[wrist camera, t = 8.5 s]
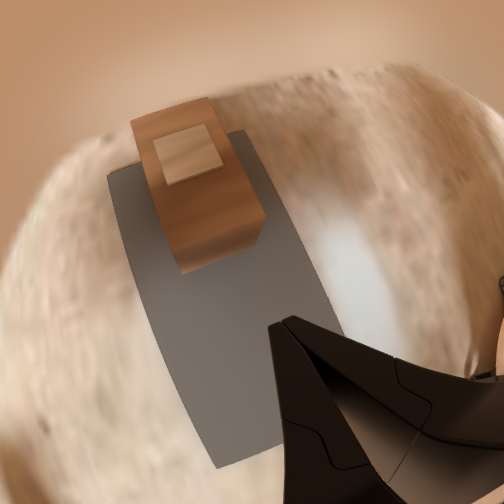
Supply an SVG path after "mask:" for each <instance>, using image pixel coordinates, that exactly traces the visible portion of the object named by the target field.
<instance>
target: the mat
mask: <svg viewBox="0 0 504 504" xmlns="http://www.w3.org/2000/svg"><path fill="white" fill-rule="evenodd" d="M226 135H227V137H228V139H229V141H230V143H231V145H232V147H233V149H234V151H235V153H236V155H237V157H238V159H239V161H240V163H241V165H242V167H243V169H244V171H245V174H246V176H247V178H248V180H249V182H250V184H251V186H252V188H253V190H254V192H255V194H256V196H257V198H258V200H259V202H260V204H261V207H262V209H263V211H264V213H265V215H266V218H265V221H264V223H263V226H262V229H261V231H260V234H259V237H258V239H257V242H256V245H255V247H253V248H250V249H248V250H245V251H242V252H240V253H237V254H235V255H232V256H229V257H227V258H224V259H222V260H219V261H216V262H214V263H211V264H209V265H206V266H203V267H201V268H198V269H196V270H193V271H190V272H188V273H185V274H183V275H182V273H181V271H180V269H179V267H178V265H177V263H176V261H175V259H174V257H173V255H172V253H171V250H170V248H169V245H168V242H167V239H166V236H165V233H164V230H163V227H162V224H161V221H160V219H159V216H158V213H157V209H156V206H155V203H154V200H153V197H152V194H151V191H150V188H149V184H148V181H147V178H146V175H145V171H144V168H143V165H142V162H140V163H137V164H135V165H132V166H130V167H127V168H124V169H122V170H119V171H117V172H114V173H112V174H109V175H107V180H108V185H109V189H110V193H111V197H112V202H113V206H114V210H115V214H116V217H117V221H118V225H119V229H120V232H121V236H122V240H123V243H124V247H125V250H126V253H127V257H128V260H129V263H130V267H131V270H132V273H133V276H134V279H135V282H136V285H137V288H138V291H139V294H140V297H141V300H142V303H143V306H144V309H145V312H146V314H147V317H148V320H149V323H150V325H151V328H152V331H153V333H154V336H155V338H156V341H157V344H158V346H159V349H160V351H161V354H162V356H163V358H164V361H165V363H166V366H167V368H168V370H169V373H170V375H171V377H172V380H173V382H174V384H175V387H176V389H177V391H178V393H179V395H180V398H181V400H182V402H183V404H184V406H185V408H186V410H187V413H188V415H189V417H190V419H191V421H192V423H193V425H194V427H195V429H196V431H197V433H198V435H199V437H200V439H201V441H202V443H203V445H204V446H205V448H206V450H207V452H208V454H209V456H210V458H211V460H212V461H213V463H214V465H215V467H216V469H218V468H221V467H224V466H227V465H230V464H233V463H235V462H238V461H241V460H243V459H246V458H248V457H251V456H253V455H256V454H258V453H261V452H263V451H266V450H268V449H270V448H273V447H275V446H277V445H280V444H282V443H283V433H282V426H281V418H280V411H279V404H278V397H277V390H276V383H275V376H274V369H273V362H272V356H271V349H270V342H269V335H268V326H269V325H271V324H274V323H276V322H278V321H280V322H281V321H282V320H283V319H285V318H287V317H289V316H291V315H296V316H298V317H300V318H303V319H305V320H307V321H310V322H312V323H314V324H316V325H319V326H321V327H323V328H326V329H328V330H330V331H333V332H335V333H337V334H340V335H342V336H344V333H343V331H342V329H341V326H340V324H339V322H338V320H337V317H336V315H335V313H334V311H333V308H332V306H331V304H330V302H329V300H328V297H327V295H326V293H325V291H324V289H323V286H322V284H321V282H320V280H319V278H318V276H317V274H316V271H315V269H314V267H313V265H312V263H311V261H310V259H309V257H308V255H307V252H306V250H305V248H304V246H303V244H302V242H301V240H300V238H299V236H298V234H297V232H296V230H295V228H294V226H293V224H292V222H291V220H290V218H289V216H288V214H287V211H286V209H285V208H284V206H283V204H282V202H281V200H280V198H279V196H278V194H277V192H276V190H275V188H274V186H273V184H272V182H271V180H270V178H269V176H268V174H267V172H266V170H265V168H264V167H263V165H262V163H261V161H260V159H259V157H258V155H257V153H256V151H255V149H254V148H253V146H252V144H251V142H250V140H249V138H248V136H247V135H246V133H245V131H244V130H240V131H236V132H233V133H229V134H226Z"/></svg>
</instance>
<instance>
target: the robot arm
mask: <svg viewBox="0 0 504 504" xmlns="http://www.w3.org/2000/svg"><path fill="white" fill-rule="evenodd" d="M268 335H269V342H270V349H271V356H272V362H273V369H274V376H275V383H276V390H277V397H278V404H279V411H280V418H281V426H282V433H283V443H284V494H283V504H504V381H499V382H479V381H474V380H470V379H465V378H461V377H457V376H453V375H449V374H445V373H441V372H437V371H433V370H430V369H427V368H423V367H420V366H417V365H415V364H412V363H409V362H406V361H404V360H401V359H399V358H394V357H393V356H391V355H388V354H386V353H383V352H381V351H378V350H376V349H373V348H371V347H369V346H366V345H364V344H361V343H359V342H356V341H354V340H352V339H349V338H347V337H345V336H342V335H340V334H337V333H335V332H333V331H330V330H328V329H326V328H323V327H321V326H319V325H316V324H314V323H312V322H310V321H307V320H305V319H303V318H300V317H298V316H296V315H291V316H289V317H287V318H285V319H283V320H282V321H281V322H280V321H278V322H276V323H274V324H271V325H269V326H268ZM371 464H372V465H371ZM373 466H374V467H373ZM375 469H376V470H377V471H378V473H379V474H380V475H381V476H382V477H383V479H384V480H385V481H386V482H387V483H388V485H389V486H390V487H391V488H392V489H391V488H390V487H389V486H388V485H387V484H386V483H385V482H384V481H383V480H382V478H381V477H380V476H379V474H378V473H377V471H376V470H375Z"/></svg>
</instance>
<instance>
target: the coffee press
mask: <svg viewBox="0 0 504 504" xmlns="http://www.w3.org/2000/svg"><path fill="white" fill-rule="evenodd" d="M499 285H500V289H501V290H502V292H503V293H504V276H503V277H501V279H500V282H499ZM470 380H474V381H479V382H499V381H504V319H503V322H502V325H501V329H500V334H499V339H498V345H497V355H496V368H495V369H493V370H491V371H488V372H485V373H482V374H479V375H476V376H474V377H472V378H470Z"/></svg>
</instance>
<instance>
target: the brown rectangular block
mask: <svg viewBox="0 0 504 504" xmlns="http://www.w3.org/2000/svg"><path fill="white" fill-rule="evenodd" d="M130 122H131V126H132V130H133V133H134V137H135V140H136V144H137V148H138V151H139V154H140V158H141V161H142V165H143V168H144V171H145V175H146V178H147V181H148V184H149V188H150V191H151V194H152V197H153V200H154V203H155V206H156V209H157V213H158V216H159V219H160V221H161V224H162V227H163V230H164V233H165V236H166V239H167V242H168V245H169V248H170V250H171V253H172V255H173V257H174V259H175V261H176V263H177V265H178V267H179V269H180V271H181V273H182V275H183V274H185V273H188V272H190V271H193V270H196V269H198V268H201V267H203V266H206V265H209V264H211V263H214V262H216V261H219V260H222V259H224V258H227V257H229V256H232V255H235V254H237V253H240V252H242V251H245V250H248V249H250V248H253V247H255V245H256V242H257V239H258V237H259V234H260V231H261V229H262V226H263V223H264V221H265V218H266V215H265V213H264V211H263V209H262V207H261V204H260V202H259V200H258V198H257V196H256V194H255V192H254V190H253V188H252V186H251V184H250V182H249V180H248V178H247V176H246V174H245V171H244V169H243V167H242V165H241V163H240V161H239V159H238V157H237V155H236V153H235V151H234V149H233V147H232V145H231V143H230V141H229V139H228V137H227V135H226V133H225V131H224V129H223V127H222V125H221V123H220V121H219V119H218V117H217V115H216V113H215V111H214V110H213V108H212V106H211V104H210V102H209V100H208V98H207V97H205V98H201V99H198V100H194V101H190V102H187V103H183V104H180V105H177V106H173V107H170V108H167V109H164V110H161V111H157V112H154V113H151V114H148V115H145V116H143V117H140V118H137V119H134V120H131V121H130Z"/></svg>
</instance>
